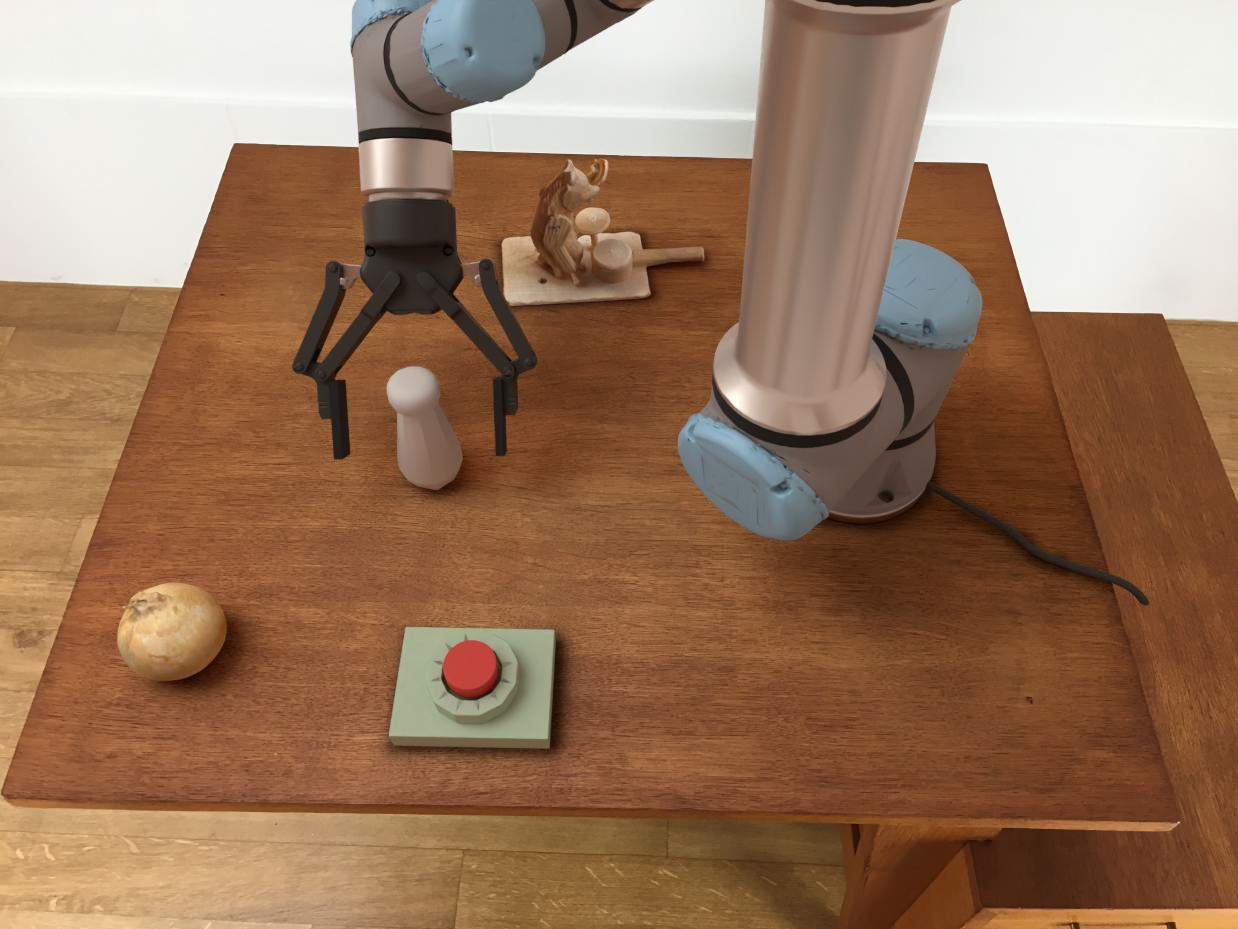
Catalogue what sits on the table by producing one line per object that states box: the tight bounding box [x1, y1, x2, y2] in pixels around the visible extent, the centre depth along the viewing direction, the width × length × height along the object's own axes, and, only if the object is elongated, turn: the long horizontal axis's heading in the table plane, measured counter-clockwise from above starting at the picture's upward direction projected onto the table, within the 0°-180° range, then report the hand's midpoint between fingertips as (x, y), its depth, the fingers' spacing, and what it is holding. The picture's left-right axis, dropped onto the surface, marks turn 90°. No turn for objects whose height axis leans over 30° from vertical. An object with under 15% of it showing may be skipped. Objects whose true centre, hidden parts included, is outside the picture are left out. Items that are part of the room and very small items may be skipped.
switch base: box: [388, 626, 557, 750], centre depth 75 cm, size 12×9×4 cm
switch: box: [443, 640, 498, 698], centre depth 73 cm, size 4×4×2 cm
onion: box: [116, 582, 228, 682], centre depth 76 cm, size 8×8×7 cm
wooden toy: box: [500, 158, 705, 307], centre depth 99 cm, size 22×10×14 cm, turn 94°
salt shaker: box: [386, 365, 464, 491], centre depth 83 cm, size 6×6×13 cm
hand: (422, 455), depth 83 cm, fingers open, 13 cm apart
